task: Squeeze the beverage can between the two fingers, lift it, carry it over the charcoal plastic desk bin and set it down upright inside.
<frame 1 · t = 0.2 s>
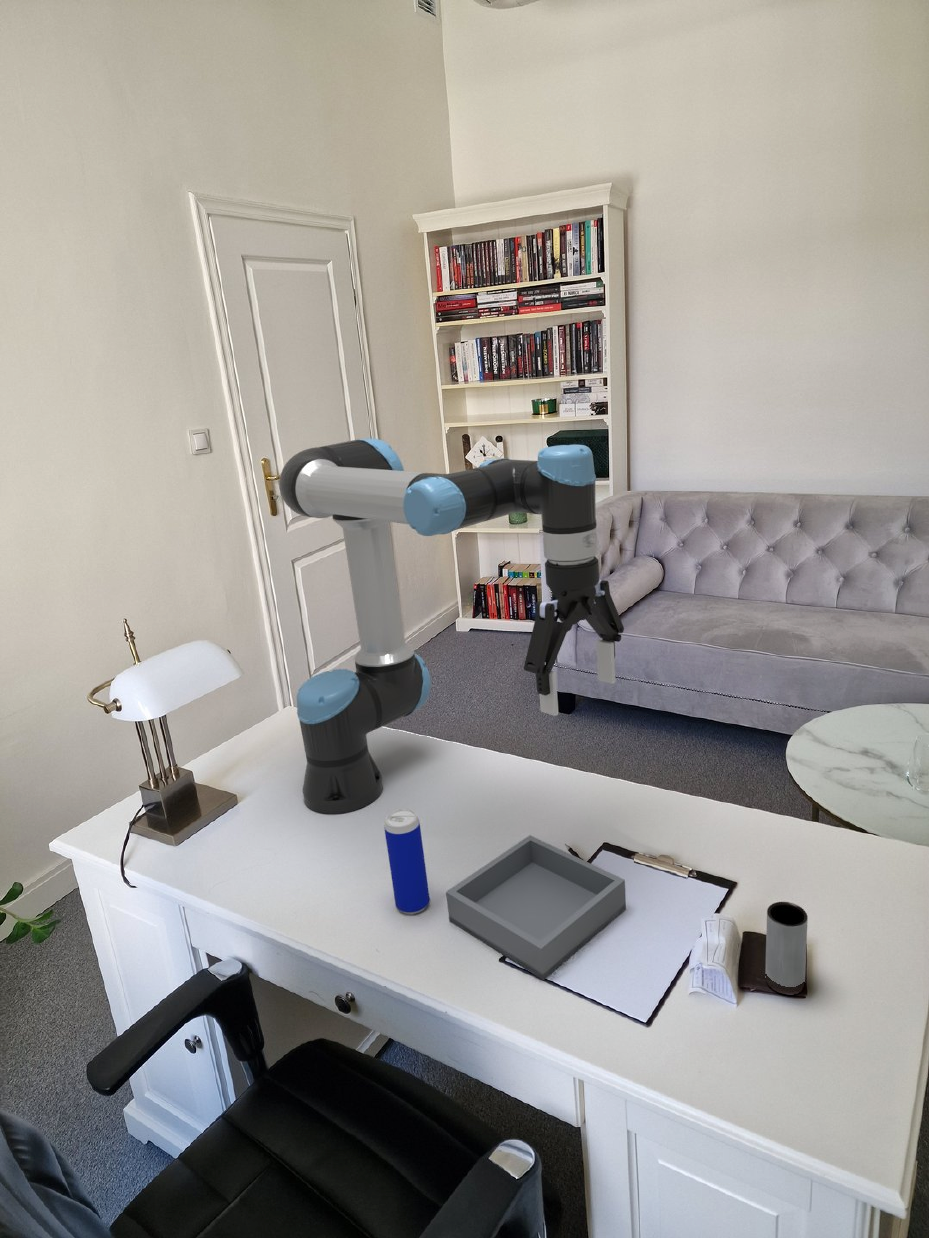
hand: (579, 696, 120), 28 cm above the table, fingers open, 13 cm apart
bin: (537, 915, 116), on the table
grey cylinder: (784, 983, 100), on the table
beverage can: (413, 905, 121), on the table
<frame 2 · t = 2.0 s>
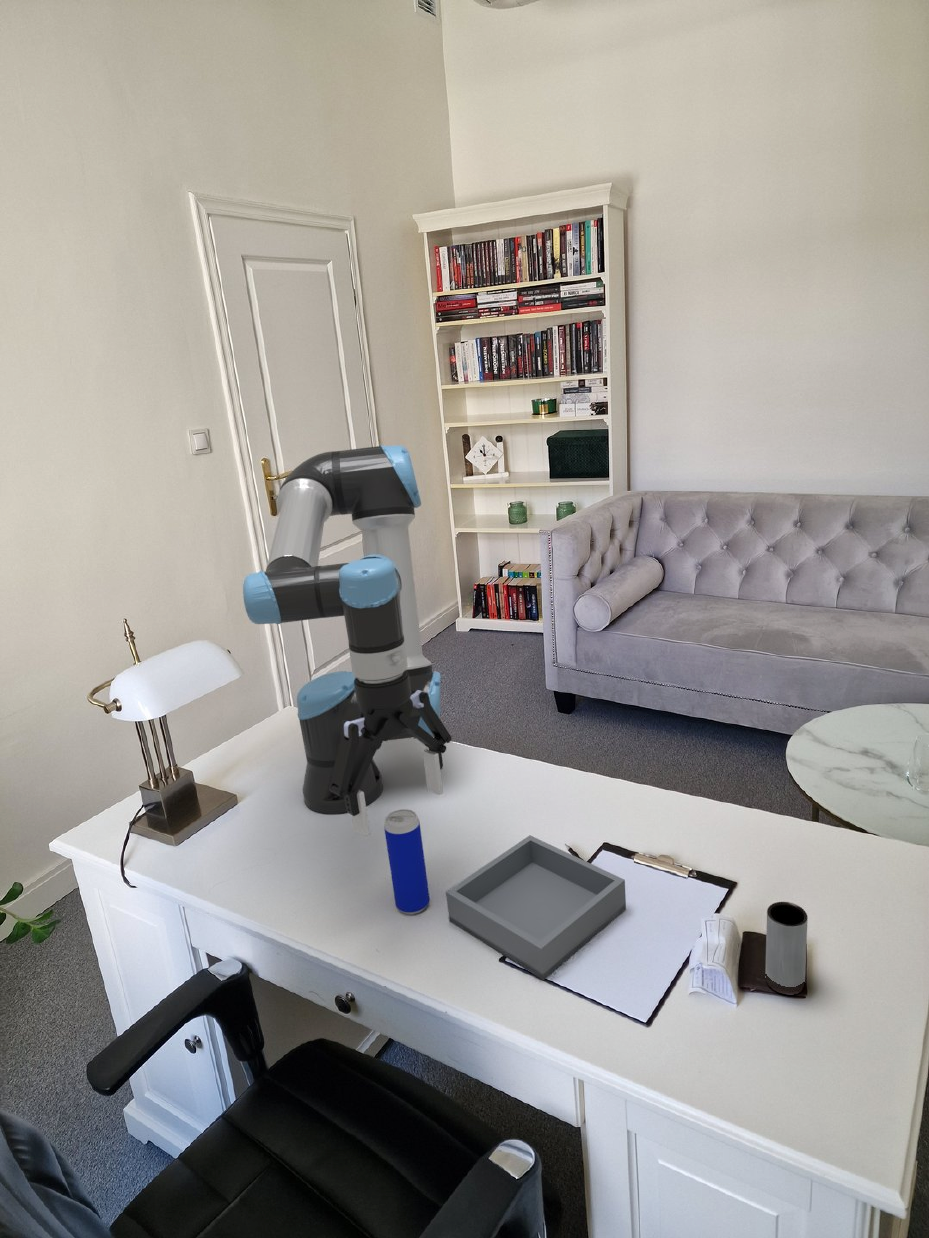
hand: (400, 811, 116), 16 cm above the table, fingers open, 13 cm apart
nothing on the table moved.
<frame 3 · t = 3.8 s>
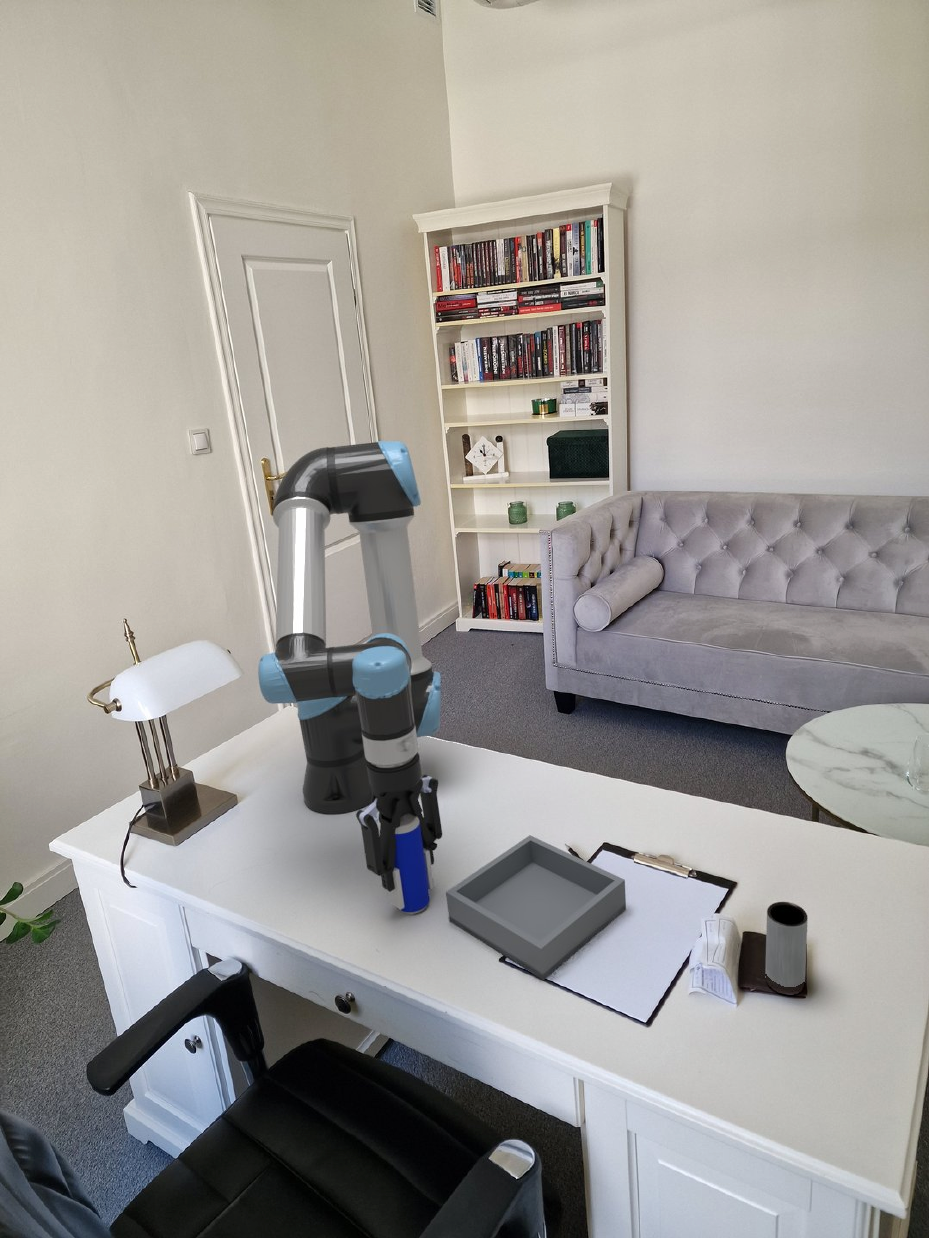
hand: (411, 894, 121), 2 cm above the table, fingers closed on beverage can, 5 cm apart
beverage can: (413, 905, 121), on the table, touching gripper
everything else where it was.
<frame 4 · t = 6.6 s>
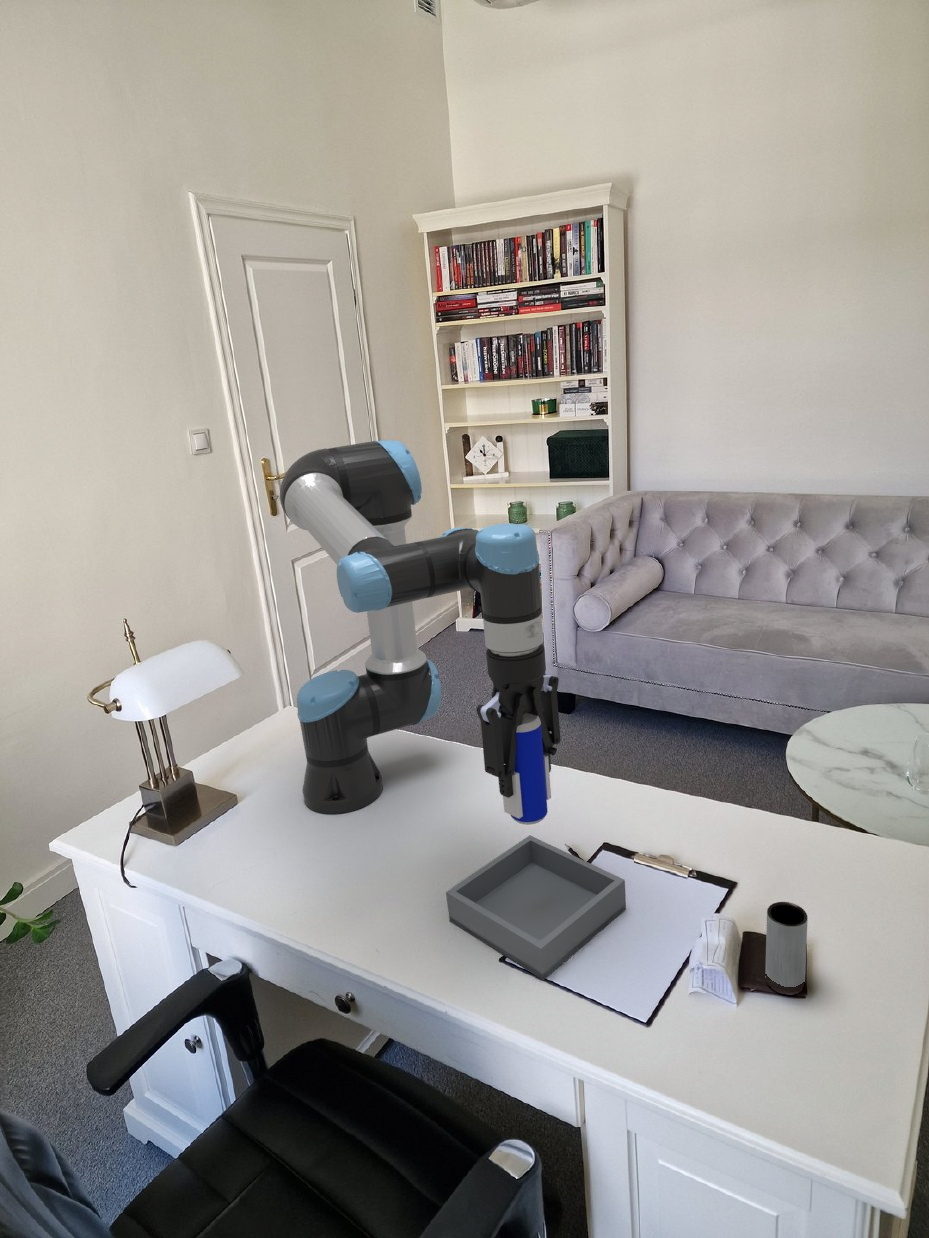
hand: (528, 804, 111), 18 cm above the table, fingers closed on beverage can, 5 cm apart
beverage can: (529, 817, 111), point 16 cm above the table, touching gripper
everything else where it was.
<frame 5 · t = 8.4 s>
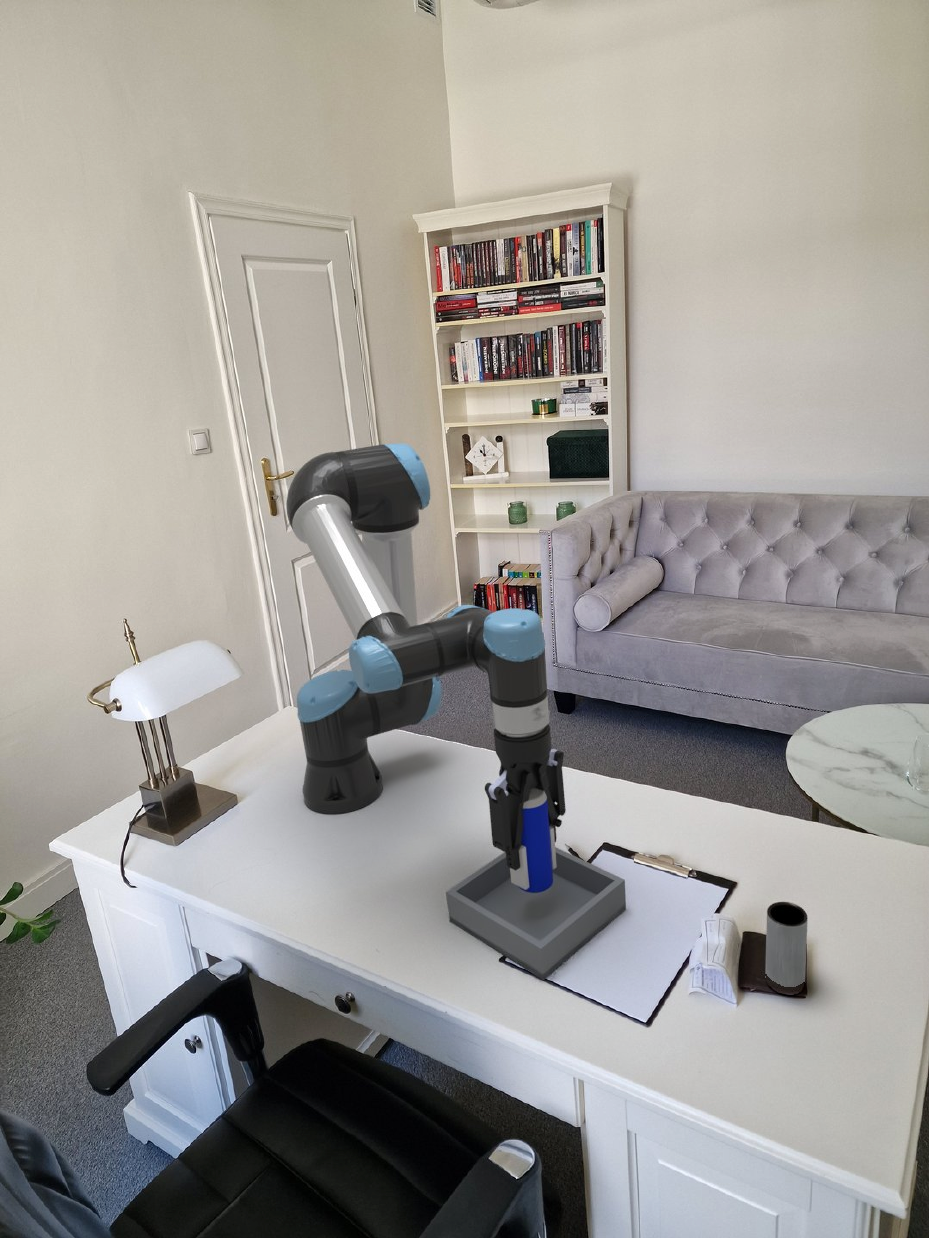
hand: (534, 874, 114), 7 cm above the table, fingers closed on beverage can, 5 cm apart
beverage can: (535, 886, 115), point 5 cm above the table, touching gripper
everything else where it was.
when the fingers open (4 cm above the table, at t = 9.7 s): beverage can drops 1 cm, resting on bin.
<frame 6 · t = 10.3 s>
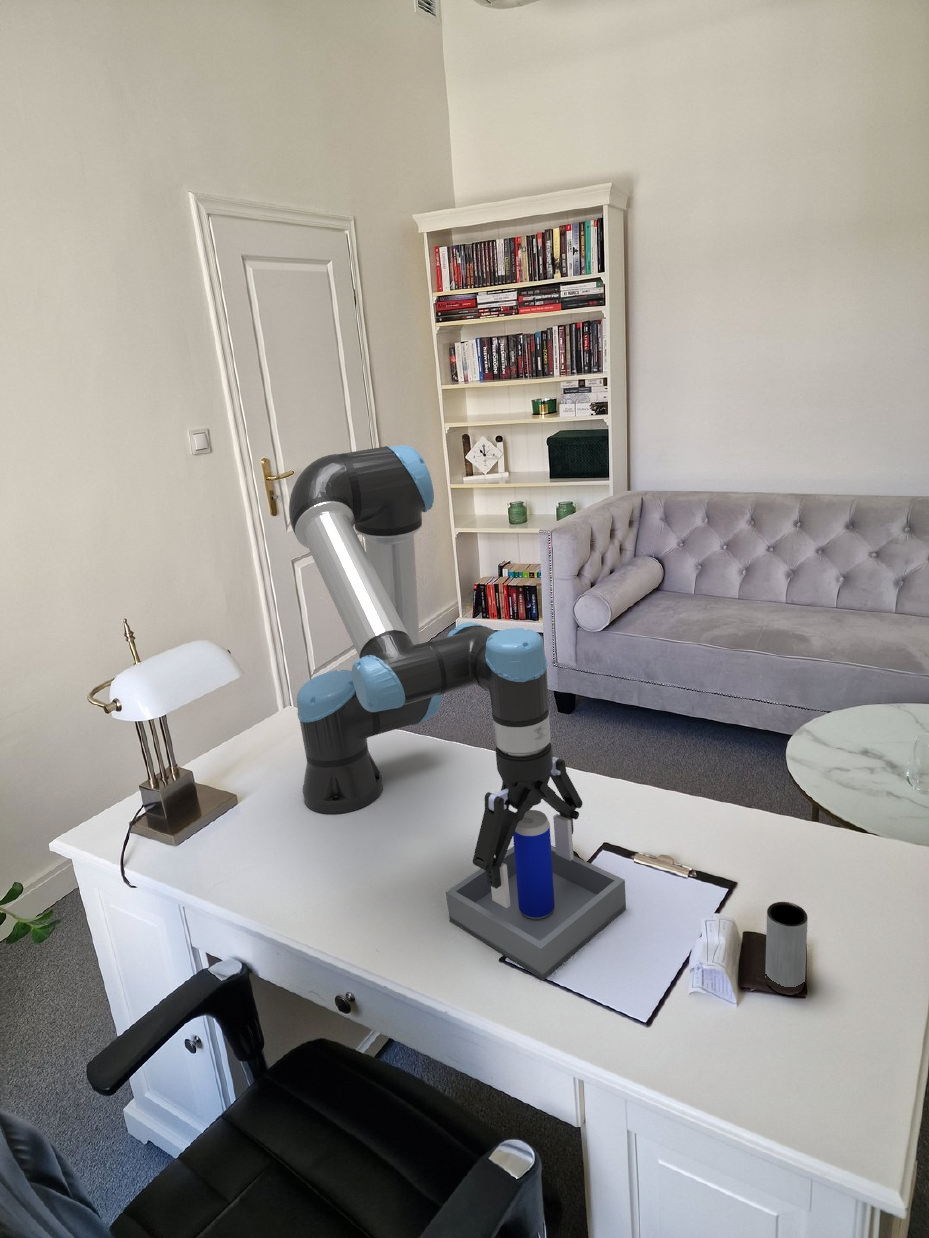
hand: (534, 878, 114), 6 cm above the table, fingers open, 13 cm apart
beverage can: (536, 909, 116), point 1 cm above the table, touching bin
everything else where it was.
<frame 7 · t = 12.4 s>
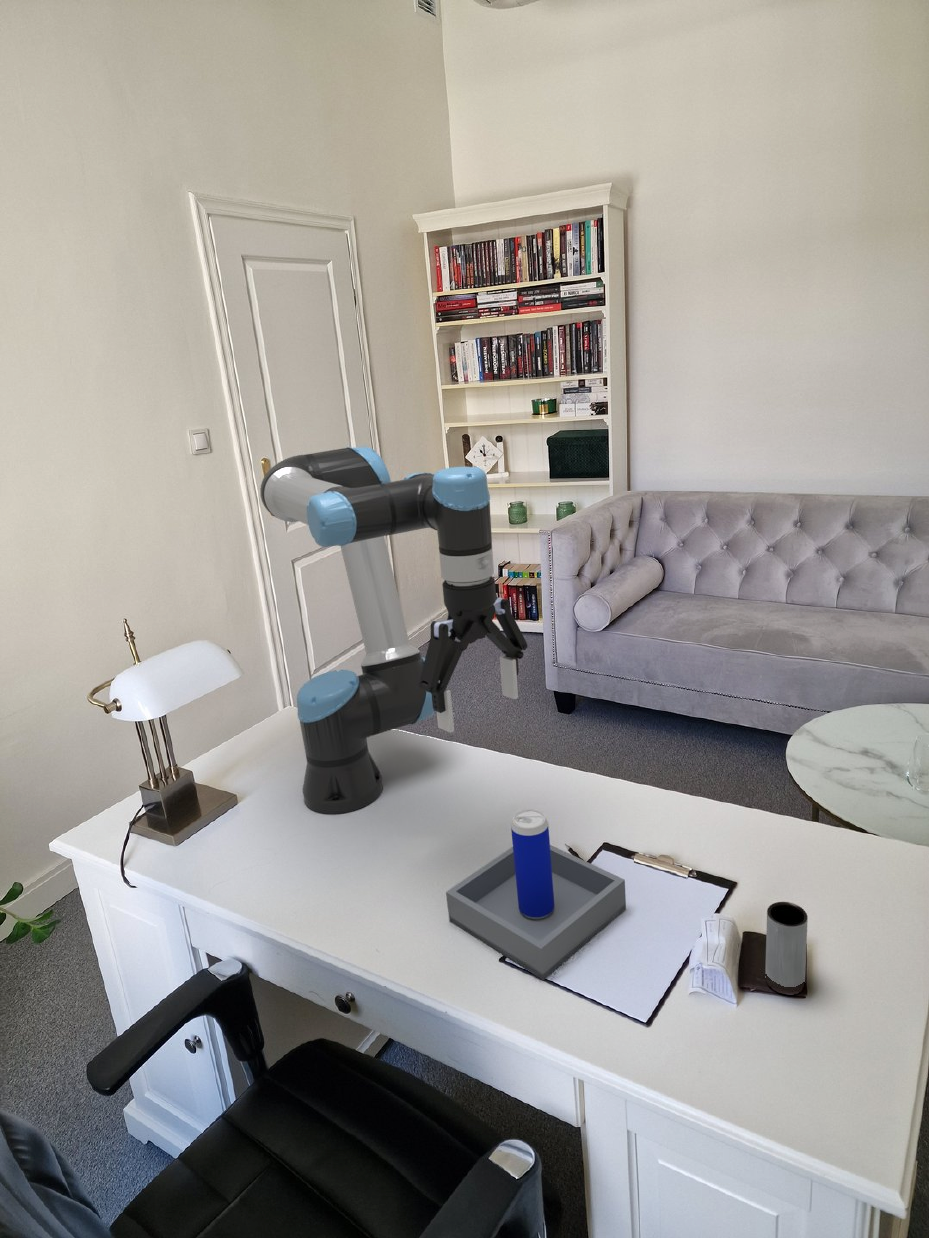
hand: (479, 712, 122), 26 cm above the table, fingers open, 13 cm apart
nothing on the table moved.
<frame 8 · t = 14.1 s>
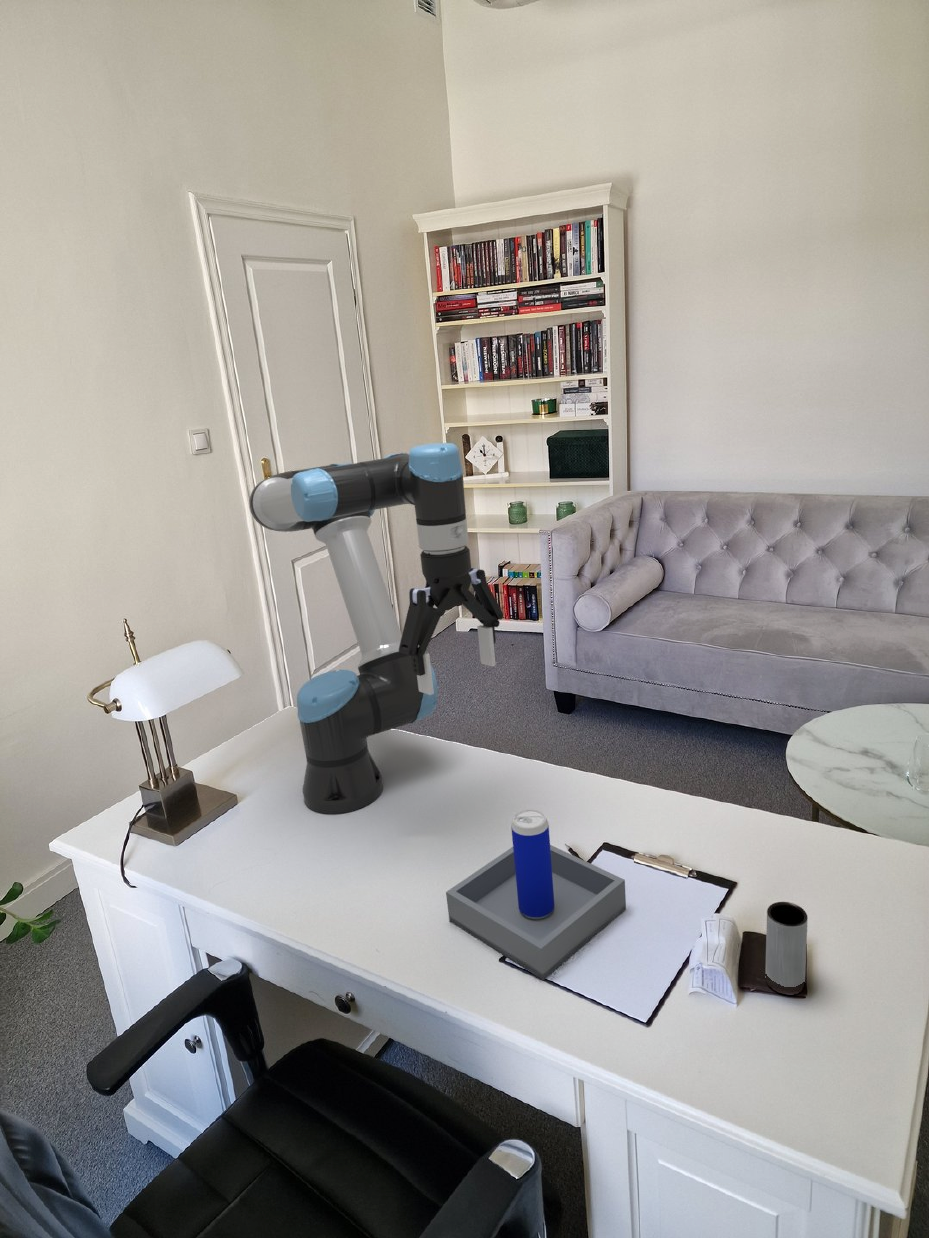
hand: (458, 678, 129), 29 cm above the table, fingers open, 13 cm apart
nothing on the table moved.
at the end: beverage can inside the target area on the bin (0.0 cm from its centre), point 0.8 cm above the bin's base; beverage can tilted 0°; the gripper is holding nothing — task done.
